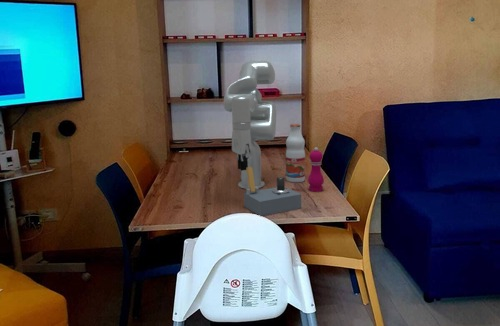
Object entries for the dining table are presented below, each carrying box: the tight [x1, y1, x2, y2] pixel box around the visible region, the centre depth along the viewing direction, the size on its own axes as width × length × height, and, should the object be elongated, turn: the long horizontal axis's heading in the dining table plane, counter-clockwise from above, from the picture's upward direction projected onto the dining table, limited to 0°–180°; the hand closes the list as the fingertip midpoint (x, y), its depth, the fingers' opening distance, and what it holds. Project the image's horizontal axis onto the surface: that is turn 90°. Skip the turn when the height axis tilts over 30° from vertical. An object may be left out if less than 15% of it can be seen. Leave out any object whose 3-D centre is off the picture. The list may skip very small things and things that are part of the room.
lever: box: [246, 167, 256, 193], centre depth 199 cm, size 11×2×2 cm
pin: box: [273, 176, 290, 195], centre depth 200 cm, size 6×6×12 cm
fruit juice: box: [285, 123, 306, 183], centre depth 236 cm, size 9×9×28 cm
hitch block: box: [243, 186, 302, 217], centre depth 199 cm, size 14×19×8 cm
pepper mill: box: [307, 147, 325, 193], centre depth 220 cm, size 7×7×20 cm
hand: (242, 169), depth 204 cm, fingers closed
